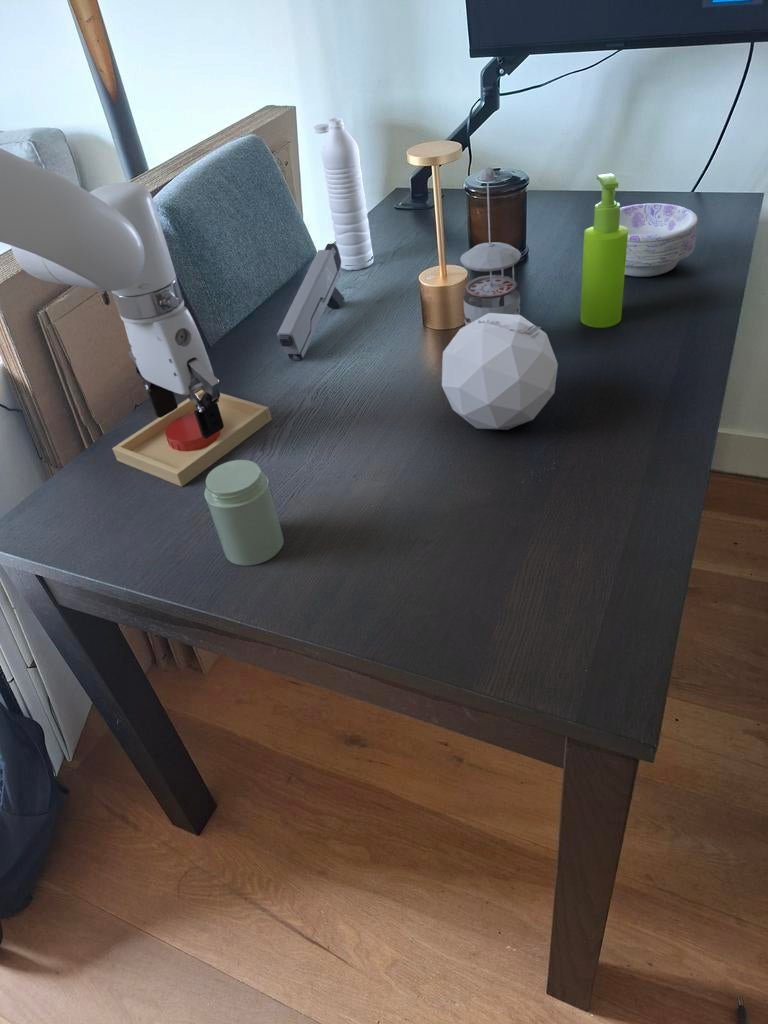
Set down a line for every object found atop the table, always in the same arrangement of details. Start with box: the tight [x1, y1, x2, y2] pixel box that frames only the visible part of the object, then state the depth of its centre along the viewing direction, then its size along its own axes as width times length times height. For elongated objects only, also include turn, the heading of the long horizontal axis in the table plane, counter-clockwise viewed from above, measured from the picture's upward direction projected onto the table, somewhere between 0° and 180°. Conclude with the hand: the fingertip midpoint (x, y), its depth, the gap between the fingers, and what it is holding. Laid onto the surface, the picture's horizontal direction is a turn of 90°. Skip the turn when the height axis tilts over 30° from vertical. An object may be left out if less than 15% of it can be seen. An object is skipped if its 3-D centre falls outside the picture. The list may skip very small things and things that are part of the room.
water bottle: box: [313, 117, 374, 271], centre depth 134 cm, size 9×6×25 cm
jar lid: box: [165, 413, 220, 451], centre depth 100 cm, size 7×7×2 cm
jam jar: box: [203, 459, 285, 567], centre depth 79 cm, size 7×7×9 cm
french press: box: [459, 167, 522, 326], centre depth 103 cm, size 10×12×25 cm
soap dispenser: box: [579, 173, 628, 329], centre depth 108 cm, size 6×7×20 cm
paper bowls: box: [619, 203, 699, 278], centre depth 124 cm, size 15×15×8 cm
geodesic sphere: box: [441, 313, 559, 431], centre depth 91 cm, size 15×14×14 cm
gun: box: [276, 243, 345, 361], centre depth 121 cm, size 2×25×10 cm, turn 164°
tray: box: [111, 389, 273, 488], centre depth 100 cm, size 17×13×2 cm
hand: (190, 422), depth 99 cm, fingers open, 9 cm apart
